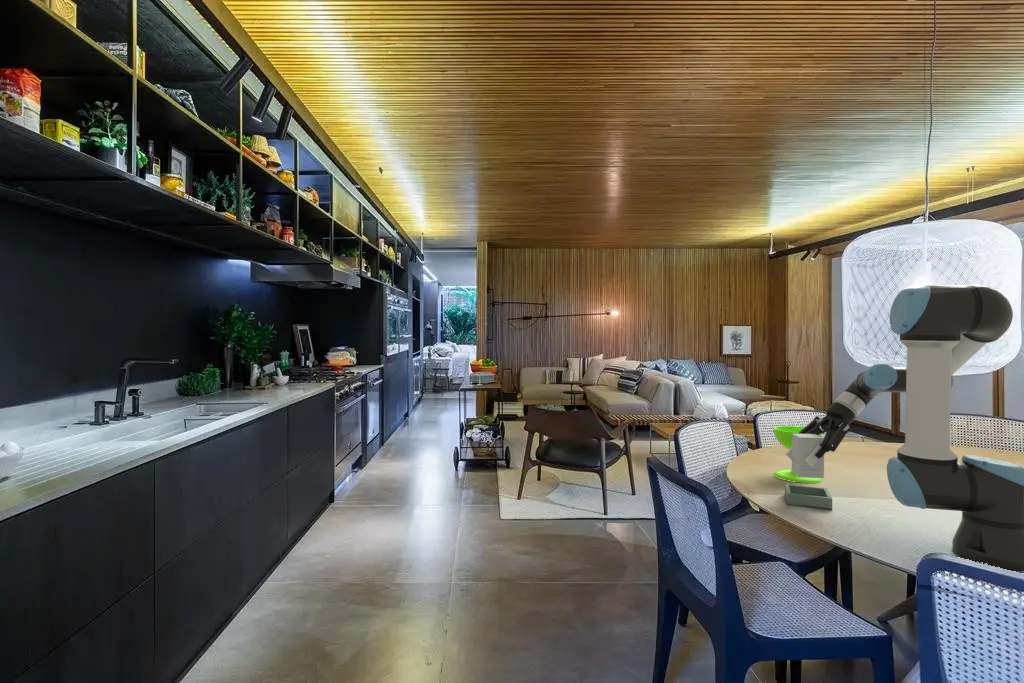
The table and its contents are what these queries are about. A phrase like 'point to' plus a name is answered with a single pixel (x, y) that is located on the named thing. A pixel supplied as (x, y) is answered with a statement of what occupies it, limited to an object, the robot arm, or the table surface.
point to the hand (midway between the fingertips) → (797, 460)
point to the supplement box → (806, 455)
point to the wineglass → (785, 439)
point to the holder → (808, 497)
